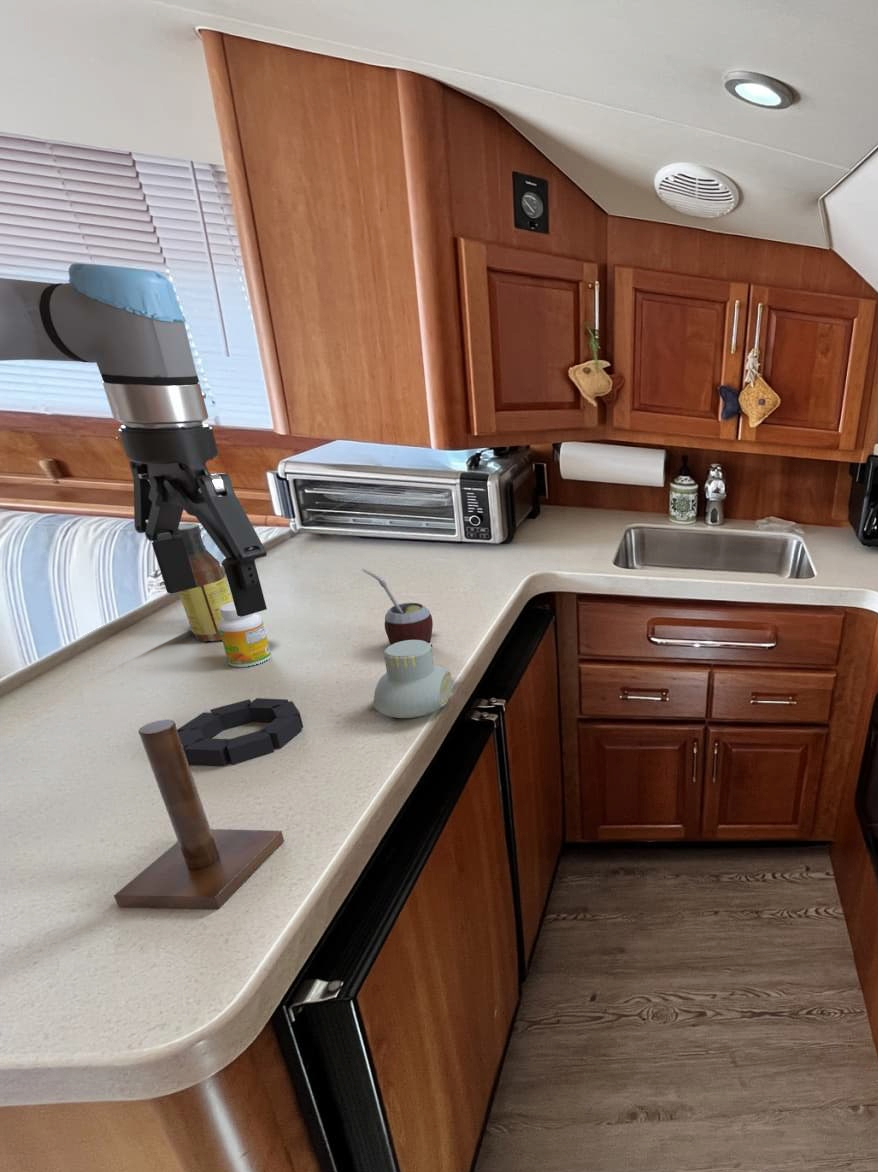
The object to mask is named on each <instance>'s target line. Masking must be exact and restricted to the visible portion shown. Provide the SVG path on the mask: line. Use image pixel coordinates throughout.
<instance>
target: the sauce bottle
mask: <svg viewBox="0 0 878 1172" xmlns="http://www.w3.org/2000/svg"><path fill="white" fill-rule="evenodd" d="M178 529H180V530H181V532H182V533H183V535H180V536H174V537H172V539H173V538H183V542H184V545H185V548H186V552H187V555H188V558H189V562H190V565H191V568H192V572H193V575H194V578H195V582H196V585H197V587H196V588H192V589H188V590H184V591H180V592H177V593H178V595H179V599H180V601H181V603H182V606H183V609H184V612H185V614H186V617H187V621H188V623H189V626H190V629H191V632H192V633H193V634H194V637H195V638H196V639H197V640H198V641H200V642H204V643H208V642H207V641H211V642H221V641H220V640H222V638H221V634H220V631H219V627H218V623H219V622H220V621H221V620H222V619H223V617H222V616H221V613H220V609H219V608H220V607H221V606H222V605H224V604H227V603H231V602H234V601H233V598H232V594H231V591H230V587H229V583H228V580H227V577H226V575H225V574H224V572H223V570H222V567H221V563H220V561H219V560H218V559H217V558H216V557H215V556H214V555H212V553H210V552H209V551H208V549H206V546H205V544H204V541H203V538H202V535H201V534H202V530H201V527H200V525H199V524H198V523H194V522H186V523H185V522H184V523H183V522H182V523H181V522H180V523H179V527H178ZM182 533H180V534H182ZM205 641H206V642H205Z"/></svg>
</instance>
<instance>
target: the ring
mask: <svg viewBox="0 0 878 1172" xmlns="http://www.w3.org/2000/svg"><path fill="white" fill-rule="evenodd" d="M209 711H210V712H205V711H204V712H202V713H200V714H199V715H197V716H196V717H194V718H193V719H191V720H189V721H188V722H186V723H185V724H183V725H182V726H180V727H178V728H177V731H178V734H179V737H180V740H181V743H182V746H183V749H184V752H185V755H186V758H187V761H188V763H189V766H207V767H210V766H211V767H225V766H226V765H228V764H229V763H231V765H237V764H240V763H243V762H246V761H249V760H252V759H256V758H259V757H262V756H265V755H268V754H271V753H274V752H275V749H283V747H285V745H287V744H288V743H290V741H292V740H293V739H294V738H295V737H297V736H298V735H299V734H300V733H301V732H303V728H304V724H303V721H302V716H301V712H300V711H299V710H298V708H297V706H296V704H295V703H294V701H292V700H290V701H289V699H287V698H286V699H284V698H262V697H261V698H260V697H257V698H255V699H254V700H251V699H250V698H249V699H245V700H242V701H238V702H233V703H230V704H226V705H221V706H218V707H214V708H211V709H210V710H209ZM249 723H268V724H267V725H265V726H264V727H263V728H262V729H260V730H256V731H253V732H250V733H246V734H242V735H240V736H236V737H232V738H214V737H216V736H217V735H218V734H220V733H221V732H222V731H224V730H228V729H231V728H235V727H239V726H243V725H246V724H249Z"/></svg>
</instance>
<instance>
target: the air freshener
mask: <svg viewBox="0 0 878 1172" xmlns="http://www.w3.org/2000/svg"><path fill="white" fill-rule="evenodd" d="M383 658H384V664H385V670H386V673H385V674H383V675H382V676H381V677H379V680H378V682H377V684H376V686H375V690H374V694H373V705H374V708H375V710H376V711H378V712H379V713H381V714H383V715H386V716H387V717H392V718H397V719H413V718H419V717H423V716H427V715H430V714H432V713H435V712H437V711H438V710H440V709H442V708H443V707H445V706H446V704H447V703H448V700H449V698H450V694H451V691H452V675H451V672H450V671H449V670H448V669H446V668H445V667H442V666H440V665H436V664H435V662H434V656H433V651H432V646H431V645H430V644H429V643H427V642H425V641H422V640H406V641H401V642H397V643H394V644H392V645H391V644H390V645H388V646H387V647H386V648H385V649H384V650H383Z"/></svg>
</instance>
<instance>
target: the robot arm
mask: <svg viewBox="0 0 878 1172" xmlns="http://www.w3.org/2000/svg"><path fill="white" fill-rule="evenodd" d="M67 270H68V271H67V272H68V277H69V279H68V282H65V283H64V282H58V283H55V282H47V281H46V282H45V281H35V280H25V279H16V278H5V277H0V362H1V361H2V362H3V361H5V362H6V361H27V360H29V361H30V360H31V361H55V362H56V361H57V362H76V363H78V362H80V363H90V364H96V366H97V368H98V371H99V373H100V376H101V380H102V381H101V383H102V385H103V389H104V392H105V396H106V399H107V401H108V405H109V408H110V411H111V415H112V417H113V419H114V420H116V421H117V422H120V423H123V424H122V425H120V426H119V428H118V435H119V437H120V441H121V444H122V446H123V450H124V452H125V453H124V454H125V456H126V457H127V458H128V460H130V461H129V467H130V471H131V475H132V479H133V509H134V510H133V514H134V516H133V517H134V530H135V531H136V532H137V533H138V534H144V535H145V538H146V539H147V540H148V541H149V542H151V546H152V548H153V549H152V550H153V552H154V555H155V559H156V561H157V565H158V568H159V571H160V574H161V577H162V580H163V584H164V587H165V589H166V593H167V594H169V595H170V594H171V595H172V594H177V593H178V592H180V591H184V590H188V589H192V588H196V587H197V585H196V582H195V578H194V575H193V572H192V568H191V565H190V562H189V558H188V555H187V552H186V548H185V545H184V542H183V538H173V539H172V537H174V536H180V535H183V533H182V532H181V530H180V529H178V527H179V524H181V520H182V516H183V511H185V512H186V514H188V515H189V516H193V517H195V518H196V519H197V520H198V522H199V524H200V525H201V526H202V527H203V529H204V531H205V532H206V534H208V536H209V537H210V538H211V540H212V541H213V543H214V544H215V545H216V547H217V548H218V549H219V551H220V552H221V554H222V556H224V558H223V560H222V561H221V563H220V565H221V566H223V569H224V573H225V577H226V581H227V584H228V587H229V590H230V593H231V596H232V599H233V602H234V605H235V609H236V612H237V616H240V617H243V616H246V615H250V614H253V613H254V614H257V613H259V612H262V611H266V610H268V607H267V604H266V601H265V596H264V593H263V588H262V584H261V580H260V576H259V573H258V570H257V565H256V560H258V559H260V558H264V557H267V551H266V548H265V546H264V544H263V543H262V541H261V539H260V537H259V535H258V533H257V532H256V530H255V528H254V526H253V524H252V523H251V521H250V519H249V517H248V515H247V514H246V513H247V512H245V510H244V508H243V506H242V504H241V502H240V500H239V499H238V496H237V495H236V492H235V490H234V487H233V484H232V480H231V477H230V475H229V474H227V473H226V472H222V473H214V474H211V473H210V471H209V469H208V467H207V465H206V463H207V462H209V460H210V461H211V460H214V459H216V458H217V457H219V449H218V445H217V441H216V437H215V435H214V429H213V428H212V426H210V424H207V423H204V421H206V420H208V419H209V414H208V410H207V406H206V401H205V399H206V398H207V394H206V392H205V391H204V390H202V387H201V383H200V380H199V376H198V374H197V369H196V366H195V361H194V357H193V353H192V348H191V344H190V341H189V336H188V332H187V327H186V324H185V323H186V322H187V320H186V317H185V315H183V312H182V308H181V306H180V303H179V300H178V298H177V294H176V292H175V289H174V285H173V284H172V281H171V280H170V279H169V278H168V277H167V276H166V275H164V274H162V273H161V272H159V271H156V270H150V269H142V268H134V267H126V266H116V265H115V266H114V265H106V264H105V265H103V264H91V263H78V262H77V263H71V264H70V265H69V266H68V269H67ZM180 533H182V534H180Z"/></svg>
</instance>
